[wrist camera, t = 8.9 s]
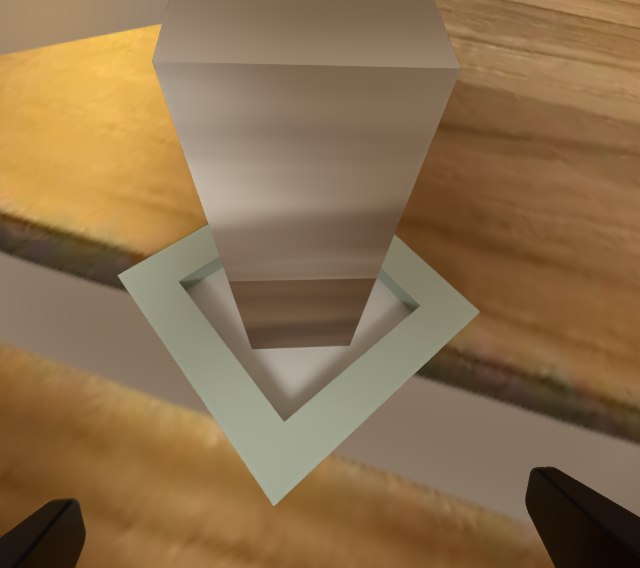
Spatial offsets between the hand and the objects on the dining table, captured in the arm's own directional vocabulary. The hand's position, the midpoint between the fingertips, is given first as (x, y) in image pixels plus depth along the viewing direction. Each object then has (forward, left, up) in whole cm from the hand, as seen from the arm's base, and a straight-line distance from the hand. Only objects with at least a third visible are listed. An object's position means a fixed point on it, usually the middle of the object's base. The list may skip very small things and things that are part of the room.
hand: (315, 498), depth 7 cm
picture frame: (+5, +6, -9) cm, 12 cm away
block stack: (+5, +6, -8) cm, 11 cm away
